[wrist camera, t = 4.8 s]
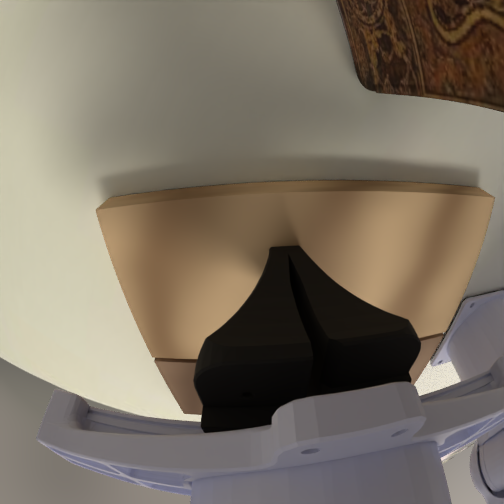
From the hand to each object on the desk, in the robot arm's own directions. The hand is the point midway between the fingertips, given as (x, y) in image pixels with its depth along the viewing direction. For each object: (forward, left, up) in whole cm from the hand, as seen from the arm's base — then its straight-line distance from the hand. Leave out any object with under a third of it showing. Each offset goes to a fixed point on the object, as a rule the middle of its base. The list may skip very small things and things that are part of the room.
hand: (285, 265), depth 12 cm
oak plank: (-2, +2, -2) cm, 3 cm away
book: (-5, -16, -2) cm, 17 cm away
